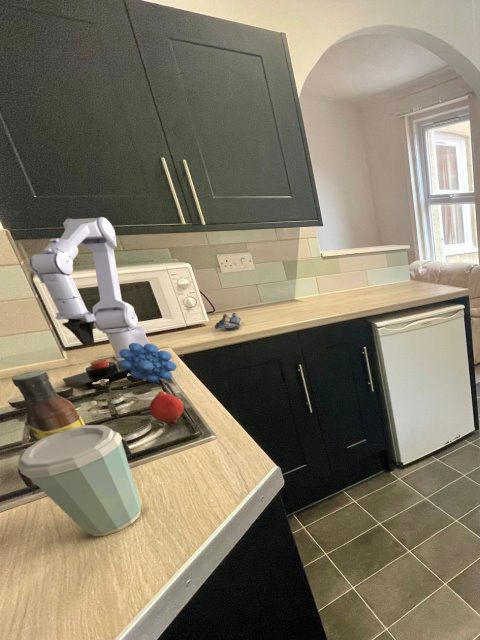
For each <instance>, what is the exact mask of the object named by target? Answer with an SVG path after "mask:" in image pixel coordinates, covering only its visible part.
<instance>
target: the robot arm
mask: <svg viewBox="0 0 480 640" xmlns="http://www.w3.org/2000/svg"><path fill="white" fill-rule="evenodd" d="M62 224H63V228H64V231H63V233H62V234H61V236H60V237H59V238H51V239H49V243H48V244H47V246H46V247H45V248H43V250H42V251H41V252H40V253H38V254H33V255H32V256H31V257H29V260H28V264H29V269H30V270H31V272H32V273H33V274H34V275H36V276H37V278H38V280H39V282H41V283H42V284H44V286H45V287H46V290H47V292H48V294H49V295H50V297H51V300H52V301H53V304H54V305H55V308H56V310H57V312H56V313H55V315H56V316H55V319H56V320H60V321H61V320H68V321H66V322H63V323H61V325H62V326H64V328H66V329H68V330H69V332H71V333H72V334H73V335H74V336H75V337H76V338H77V340H78V341H79V342H80V343H81V344H82V345H83V346H89V345H93V344H95V337H94V328H95V329H97V331H99V332H101V333H102V334H105V335H106V337H107V339H108V342H109V344H110V346H111V348H112V350H113V352H114V355H113V357H114V359H115V360H116V362H121V361H122V360H124V359H123V358H122V357H121V356H120V354H119V352H120V350H122V349H129V345H130V344H131V343H139V344H141V345H142V346H143V347H144V345H146V344H151V343H150V341H149V339H148V337H147V334H146V332H145V330H144V328H143V327H142V326H138V323H139V319H138V316H137V314H136V312H135V307H134V306H132V305H131V304H129V303H128V302H126V301H123V299H122V293H121V288H120V287H121V286H120V281H119V276H118V268H117V263H116V257H115V256H116V255H115V250H114V249H115V248H116V247H118V245H117V244H118V243H117V237H116V231H115V228H114V226H113V225H112V223H111V222H110V221H109V220H108V219H107V218H106V217H103V216H100V217H90V218H66V219H65V221H64V222H63V223H62ZM78 246H80V247H81V248H83V249H84V250H87V251H90V252H91V253H92V256H93V263H94V269H95V277H96V281H97V286H98V287H97V288H98V295H99V301H97V303H96V304H94V305H93V306H92V313H91V312H90V311H89V310H88V308H87V306H86V305H85V303H84V300H83V298H82V296H81V294H80V292H79V290H78V287H77V285H76V283H75V281H74V279H73V276H72V273H74V260H75V259H76V257H77V256H78V254H79V248H78ZM129 350H130V349H129Z"/></svg>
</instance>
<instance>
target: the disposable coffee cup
mask: <svg viewBox="0 0 480 640" xmlns="http://www.w3.org/2000/svg"><path fill="white" fill-rule="evenodd" d="M122 440H123V437H122V436H121V434H120V433H119V432H118V431H114V430H113V429H112V428H110V427H108V426H106V425H104V424H85V425H84V426H80V427H76V428H72V429H68V430H65V431H62V432H59V433H56V434H53V435H51V436H48V437H46V438H43V439H41V440H39V441H38V440H37V442H35V443H34V444H31V445H30V446H29V447H27V448H26V449H25V450H24V452H22V453H23V454H22V455H21V457H20V459H19V461H20V463H19V464H18V466H17V468H18V469H19V471H20V474H21V475H23V476H24V477H26V478H28V479H30V480H31V481H32V482H33V483H34V484H35V485H36V486H37V487H38V488H39V489H40V490H41V491H42V492H43V493H45V494H46V495H47V497H49V498H50V500H51V501H52V502H54V503H55V504H56V505H57V506H58V507H59V508H60V509H61V510H62V511H63V512H64V513H65V514H66V515H67V516H68V517H69V518H70V519H71V520H72V521H73V522H74V524H76V525H77V526H78V527H79V528H81V530H83V532H85V533H86V534H88V535H91V536H92V537H94V538H95V537H96V538H97V537H105V536H108V535H109V536H110V535H112V534H115V533H117V532H120V531H122V530H123V529H125V528H127V527H128V526H130V525H132V524H133V523H134V522H135V521H136V520H137V519H138V518H140V516H141V512H142V503H141V500H140V497H139V494H138V490H137V487H136V484H135V480H134V477H133V474H132V471H131V467H130V464H129V461H128V457H127V454H126V451H125V448H124V447H125V446H124V444H123V442H122Z"/></svg>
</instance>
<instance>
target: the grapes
mask: <svg viewBox="0 0 480 640" xmlns="http://www.w3.org/2000/svg"><path fill="white" fill-rule="evenodd" d="M129 349H130V350H129ZM129 349H122V350H120V352H119V354H120V356H121V357H122V358H123V359H124V360H121V361H119V362H120V365H121V367H122V368H124V369H126V370H131V372H130V373H131V375H132V376H131V377H132V378H134V379H136V380H143V379H146V381H148V382H149V383H153V384H154V383H159V382H160V380H161V379H162V380H170V379H172V378H173V373H172V372H174V371H176V370H177V367H178V366H177V364H176V363H175V362H173V361H172V354H171V352H169V351H166V350H159V346H157V344H154V343H150V344H146V345H144V347H143V346H142V345H141V344H139V343H131V344H130V345H129Z"/></svg>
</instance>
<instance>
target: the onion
mask: <svg viewBox="0 0 480 640" xmlns="http://www.w3.org/2000/svg"><path fill="white" fill-rule="evenodd" d="M149 404H150V405H149V412H150V415H151V416H152V417H153V419H155V420H157V421H161V422H164V423H170V424H174V423H176V422H177V421H178V420H179V418H180V417H181V416H182V415H183V413H184V410H185V407H184V402H183V401H182V400H181V398H179V397H177V396H175V395H173V394H170V393H166V392H165V391H163V390H159V391H158V393H157V394H156V396H155V397H154V398H153V399H152V400H151V402H150V403H149Z"/></svg>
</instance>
